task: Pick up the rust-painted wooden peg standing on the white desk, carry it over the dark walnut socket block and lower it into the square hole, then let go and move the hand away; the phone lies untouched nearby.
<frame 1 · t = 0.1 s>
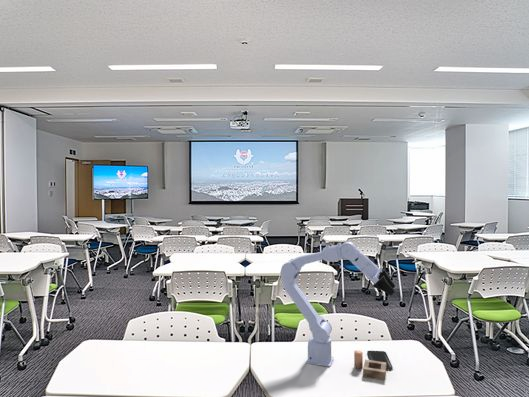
hand: (393, 290, 141), 32 cm above the table, tool tilted 50°, fingers open, 7 cm apart
phone: (379, 362, 152), on the table
socket block: (374, 373, 142), on the table
peg: (358, 366, 147), on the table
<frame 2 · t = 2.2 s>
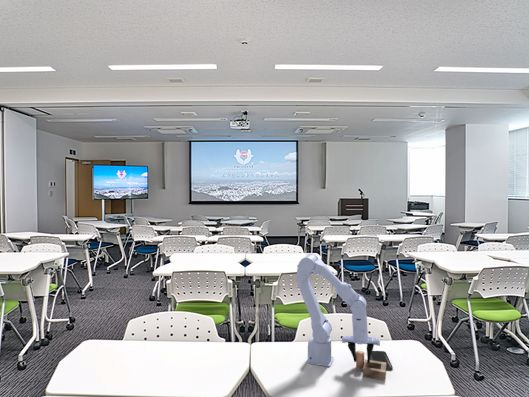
hand: (362, 361, 147), 2 cm above the table, tool pointing down, fingers open, 5 cm apart
peg: (360, 367, 147), on the table, touching gripper
everything else where it was.
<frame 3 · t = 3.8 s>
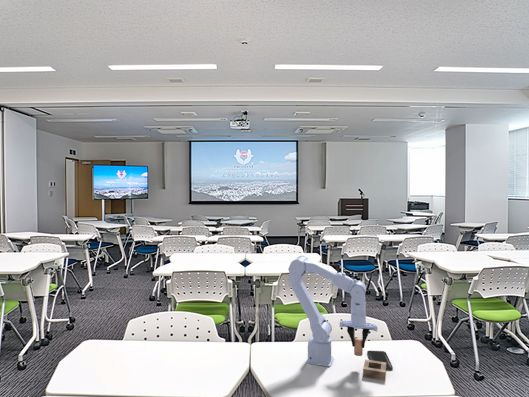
hand: (358, 346, 147), 8 cm above the table, tool pointing down, fingers closed on peg, 3 cm apart
peg: (358, 354, 147), point 5 cm above the table, touching gripper
everything else where it was.
when the fingers open (3 cm above the table, at t = 5.8 s): peg stays where it is, resting in socket block.
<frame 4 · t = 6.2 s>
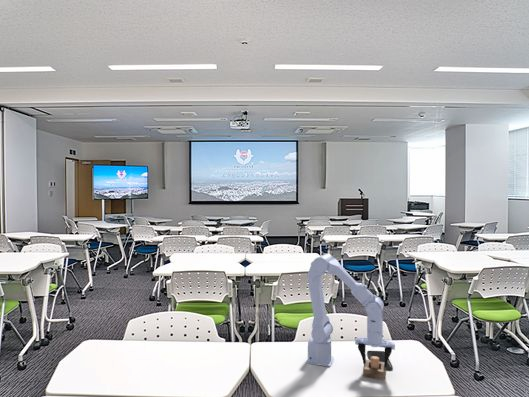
hand: (374, 364, 142), 3 cm above the table, tool pointing down, fingers open, 7 cm apart
peg: (374, 373, 142), resting in socket block
everything else where it was.
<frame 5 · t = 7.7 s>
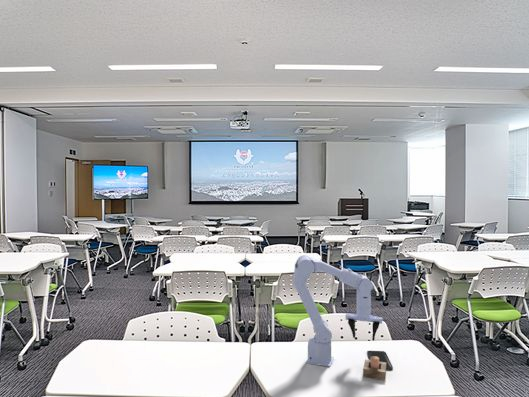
hand: (363, 338, 152), 9 cm above the table, tool pointing down, fingers open, 7 cm apart
nothing on the table moved.
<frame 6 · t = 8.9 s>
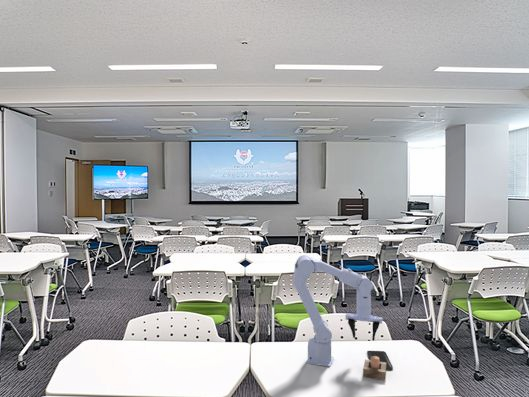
hand: (363, 338, 152), 9 cm above the table, tool pointing down, fingers open, 7 cm apart
nothing on the table moved.
at the end: peg 0.0 cm off-centre on the socket block, point 0.0 cm above the socket block's base; peg tilted 1°; the gripper is holding nothing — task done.
